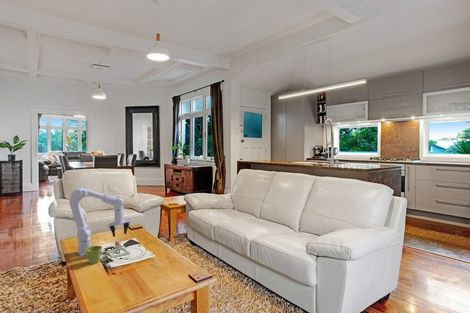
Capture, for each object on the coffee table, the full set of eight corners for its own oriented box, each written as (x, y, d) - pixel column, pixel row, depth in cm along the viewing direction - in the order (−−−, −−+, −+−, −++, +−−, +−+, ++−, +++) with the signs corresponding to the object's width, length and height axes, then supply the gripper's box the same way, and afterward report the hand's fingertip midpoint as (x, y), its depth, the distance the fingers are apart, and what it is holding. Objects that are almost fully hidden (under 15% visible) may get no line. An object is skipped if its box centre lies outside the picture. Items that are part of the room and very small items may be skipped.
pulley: (115, 248, 196) (114, 244, 196) (123, 246, 200) (123, 242, 200) (118, 251, 192) (118, 247, 192) (127, 249, 196) (126, 245, 196)
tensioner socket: (104, 251, 191) (104, 248, 191) (113, 249, 195) (113, 245, 195) (107, 254, 187) (107, 250, 187) (116, 251, 191) (116, 248, 191)
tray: (106, 255, 184) (106, 251, 184) (123, 251, 192) (123, 246, 192) (112, 261, 176) (112, 256, 176) (129, 256, 184) (129, 251, 184)
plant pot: (96, 266, 170) (95, 252, 169) (82, 264, 172) (81, 250, 171) (106, 259, 179) (105, 246, 179) (93, 258, 181) (92, 245, 180)
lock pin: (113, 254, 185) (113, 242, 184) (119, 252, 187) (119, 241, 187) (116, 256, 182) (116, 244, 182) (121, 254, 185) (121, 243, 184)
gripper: (110, 219, 185) (110, 239, 186) (131, 214, 195) (132, 234, 196) (106, 216, 190) (107, 236, 191) (127, 212, 200) (128, 231, 201)
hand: (119, 235), depth 194 cm, fingers open, 7 cm apart
